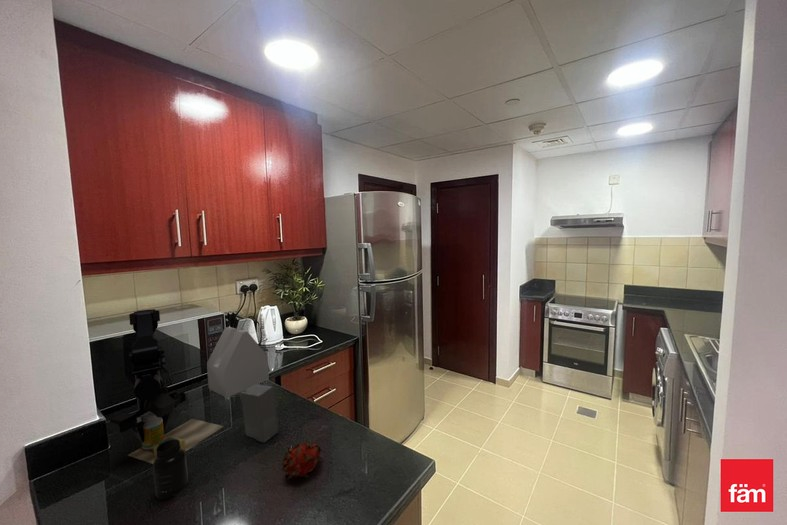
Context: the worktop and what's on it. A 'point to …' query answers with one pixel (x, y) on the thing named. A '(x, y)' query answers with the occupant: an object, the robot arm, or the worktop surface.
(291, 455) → the dragon fruit
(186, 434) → the plywood board
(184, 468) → the supplement bottle
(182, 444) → the stud finder
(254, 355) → the milk carton
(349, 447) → the worktop surface
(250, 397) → the skincare box
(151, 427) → the supplement bottle
